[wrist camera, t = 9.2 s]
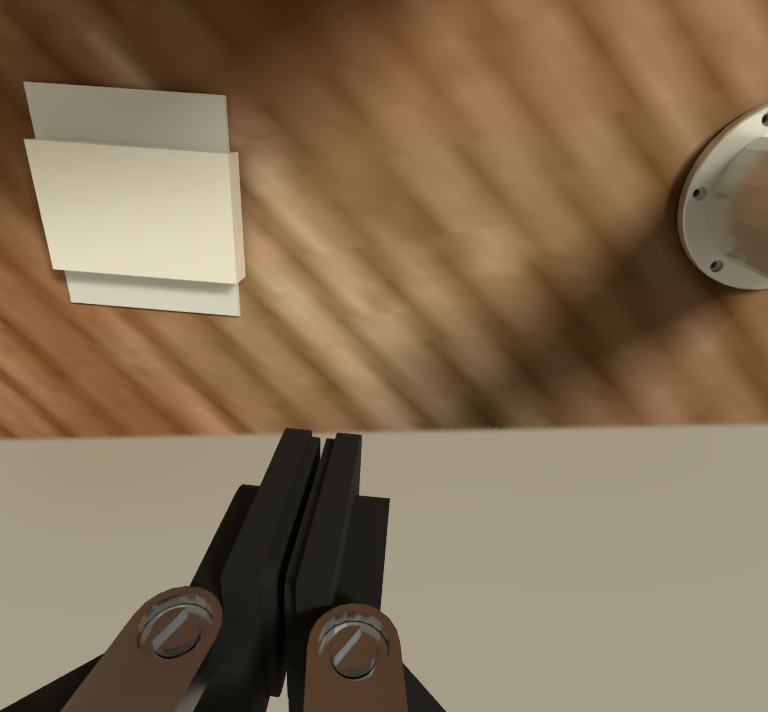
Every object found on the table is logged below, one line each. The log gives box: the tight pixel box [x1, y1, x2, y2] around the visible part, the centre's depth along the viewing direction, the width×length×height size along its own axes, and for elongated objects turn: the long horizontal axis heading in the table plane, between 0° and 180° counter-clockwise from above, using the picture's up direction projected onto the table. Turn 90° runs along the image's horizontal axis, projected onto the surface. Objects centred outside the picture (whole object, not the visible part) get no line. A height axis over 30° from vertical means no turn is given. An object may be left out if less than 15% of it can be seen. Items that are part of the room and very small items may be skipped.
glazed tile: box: [24, 138, 245, 284], centre depth 37 cm, size 2×9×14 cm
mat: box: [23, 82, 241, 316], centre depth 38 cm, size 14×16×1 cm
